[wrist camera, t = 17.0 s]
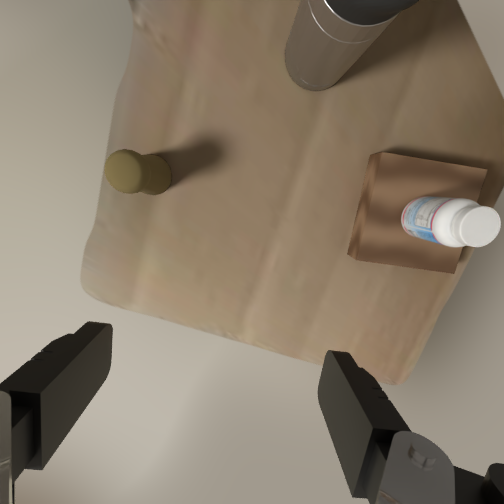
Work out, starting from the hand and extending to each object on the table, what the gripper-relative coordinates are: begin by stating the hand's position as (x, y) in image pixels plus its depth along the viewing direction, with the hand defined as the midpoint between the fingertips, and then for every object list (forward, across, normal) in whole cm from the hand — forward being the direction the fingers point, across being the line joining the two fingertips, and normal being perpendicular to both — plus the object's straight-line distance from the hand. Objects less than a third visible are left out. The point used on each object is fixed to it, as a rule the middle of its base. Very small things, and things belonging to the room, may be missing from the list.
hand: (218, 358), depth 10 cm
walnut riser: (+36, -27, -6) cm, 45 cm away
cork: (+36, +14, -6) cm, 39 cm away
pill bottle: (+32, -27, -6) cm, 42 cm away
